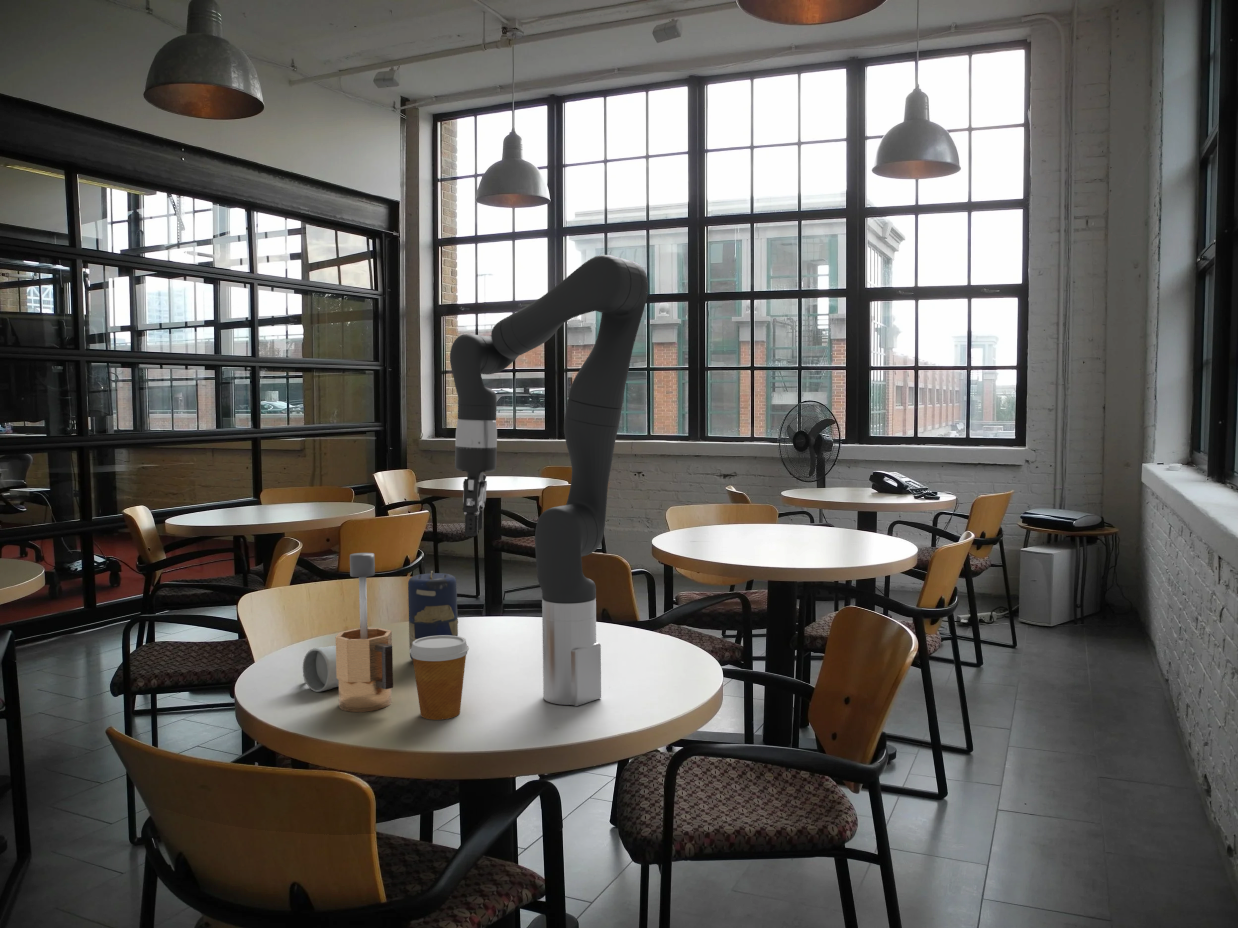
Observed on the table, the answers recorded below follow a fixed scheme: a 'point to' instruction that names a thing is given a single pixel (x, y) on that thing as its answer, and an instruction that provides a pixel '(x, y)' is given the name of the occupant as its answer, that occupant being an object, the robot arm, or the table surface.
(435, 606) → the canister
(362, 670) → the wooden pitcher
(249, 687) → the table surface
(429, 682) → the disposable coffee cup
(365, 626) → the plunger
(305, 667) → the ceramic mug
